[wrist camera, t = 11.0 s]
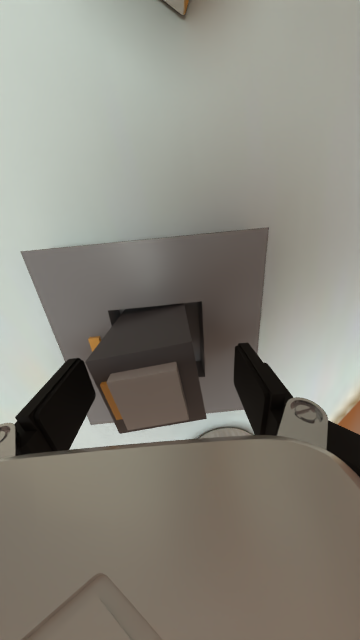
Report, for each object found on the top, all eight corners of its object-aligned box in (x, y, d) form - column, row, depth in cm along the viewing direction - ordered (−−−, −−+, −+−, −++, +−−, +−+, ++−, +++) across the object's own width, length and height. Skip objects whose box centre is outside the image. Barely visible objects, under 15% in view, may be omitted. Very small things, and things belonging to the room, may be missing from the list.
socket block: (249, 231, 14) (270, 227, 11) (241, 386, 20) (253, 411, 17) (50, 250, 14) (16, 251, 11) (101, 400, 20) (89, 427, 17)
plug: (182, 296, 15) (193, 348, 7) (192, 345, 17) (208, 428, 9) (126, 307, 16) (78, 370, 8) (142, 354, 17) (116, 444, 10)
